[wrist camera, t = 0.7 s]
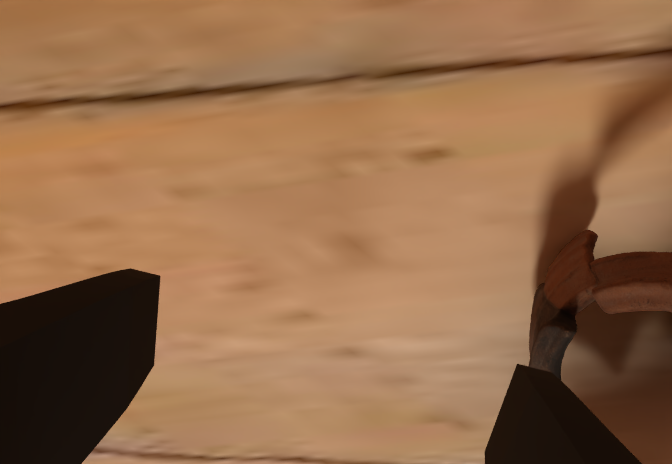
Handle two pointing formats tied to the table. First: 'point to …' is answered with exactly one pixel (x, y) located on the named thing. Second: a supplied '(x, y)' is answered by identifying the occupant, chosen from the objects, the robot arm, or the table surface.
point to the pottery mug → (593, 294)
